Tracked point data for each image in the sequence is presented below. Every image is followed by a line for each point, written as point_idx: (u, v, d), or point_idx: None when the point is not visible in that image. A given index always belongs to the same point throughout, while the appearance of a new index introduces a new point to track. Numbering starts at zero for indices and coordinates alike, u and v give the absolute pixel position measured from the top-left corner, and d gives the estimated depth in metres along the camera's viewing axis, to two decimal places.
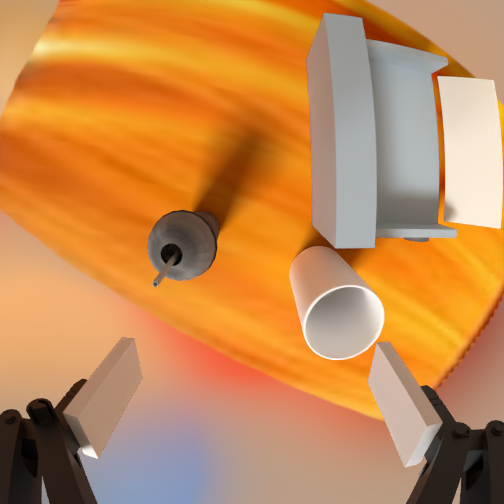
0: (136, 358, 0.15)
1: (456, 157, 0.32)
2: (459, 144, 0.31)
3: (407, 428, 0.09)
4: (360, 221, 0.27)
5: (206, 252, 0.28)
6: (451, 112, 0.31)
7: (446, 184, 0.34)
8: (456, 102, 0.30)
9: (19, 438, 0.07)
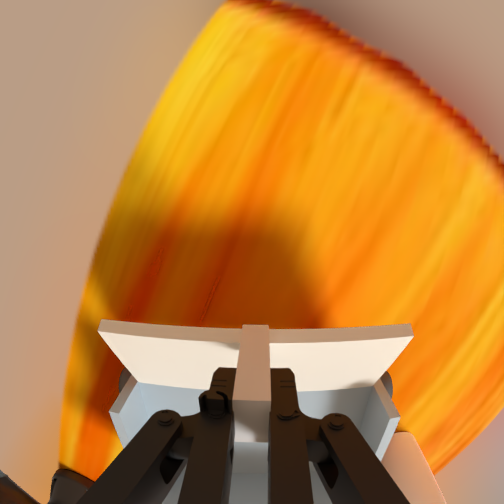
0: None
1: None
2: None
3: None
4: None
5: None
6: (195, 383, 0.23)
7: (317, 390, 0.23)
8: (174, 377, 0.22)
9: (168, 445, 0.08)
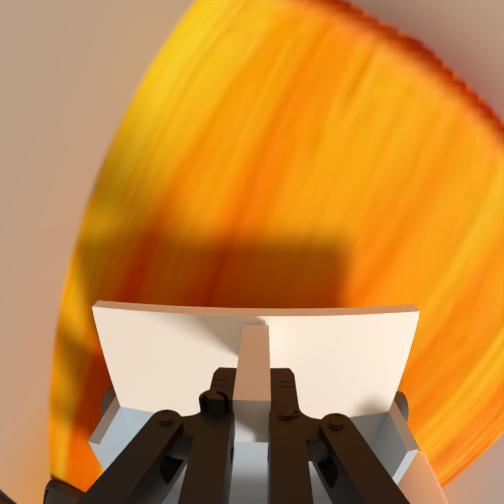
0: None
1: None
2: None
3: None
4: None
5: None
6: (184, 404, 0.19)
7: None
8: (162, 392, 0.19)
9: (169, 445, 0.08)
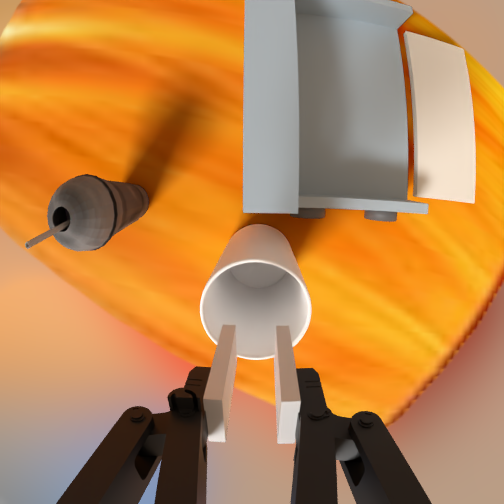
0: (235, 344, 0.17)
1: (428, 121, 0.27)
2: (432, 107, 0.27)
3: (278, 404, 0.12)
4: (276, 178, 0.21)
5: (99, 217, 0.23)
6: (422, 71, 0.26)
7: (419, 152, 0.28)
8: (427, 62, 0.25)
9: (141, 441, 0.08)
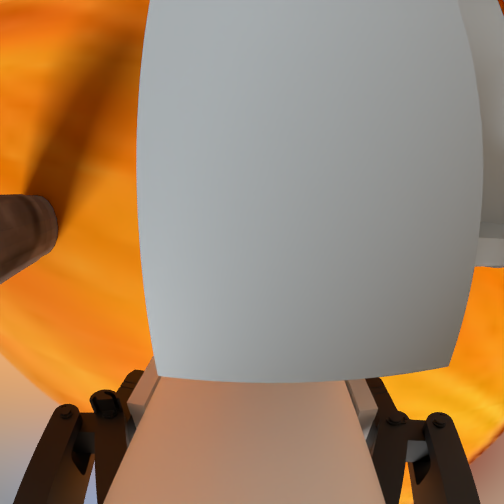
0: None
1: None
2: None
3: None
4: (369, 170, 0.03)
5: None
6: None
7: None
8: None
9: (73, 435, 0.08)
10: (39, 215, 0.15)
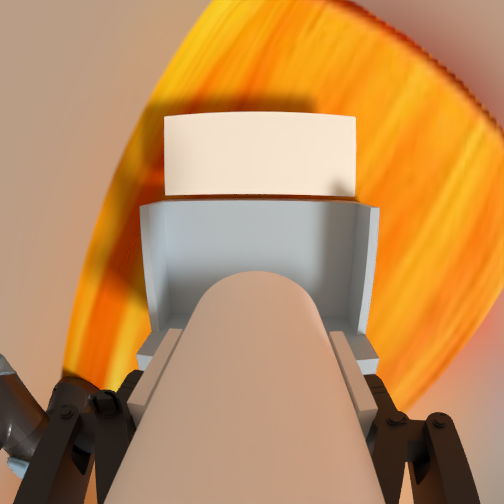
0: None
1: (273, 178, 0.31)
2: (256, 172, 0.31)
3: None
4: None
5: None
6: (213, 180, 0.32)
7: (309, 193, 0.32)
8: (199, 172, 0.31)
9: (73, 435, 0.08)
10: None
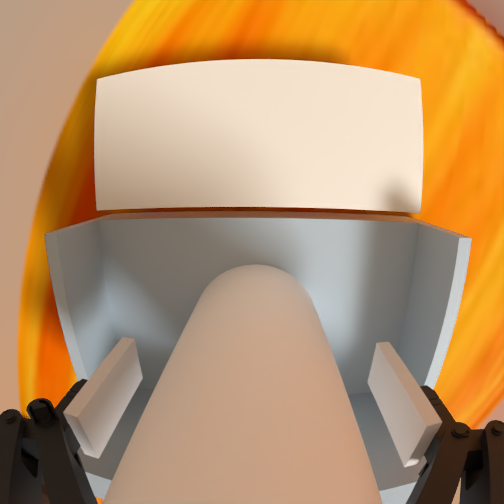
0: (136, 358, 0.15)
1: (283, 178, 0.17)
2: (251, 167, 0.17)
3: (407, 428, 0.09)
4: (400, 495, 0.12)
5: None
6: (173, 183, 0.17)
7: (347, 206, 0.17)
8: (149, 169, 0.17)
9: (19, 438, 0.07)
10: None
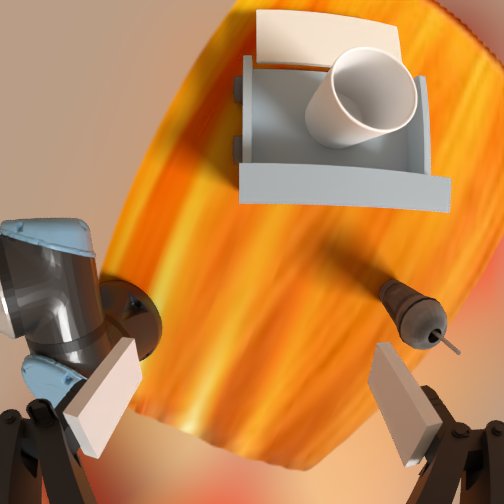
0: (136, 358, 0.15)
1: None
2: (331, 51, 0.33)
3: (407, 428, 0.09)
4: (434, 190, 0.28)
5: (435, 308, 0.32)
6: (298, 53, 0.33)
7: None
8: (286, 47, 0.33)
9: (19, 438, 0.07)
10: (392, 283, 0.43)
